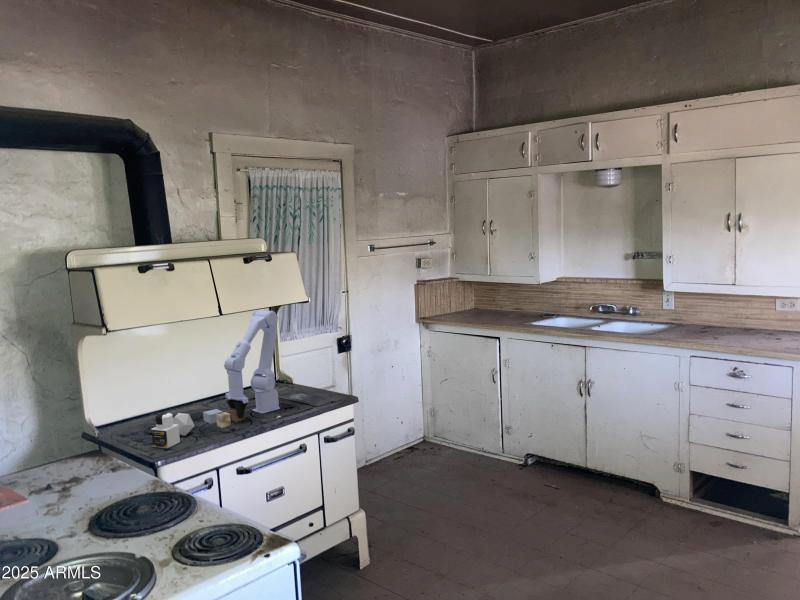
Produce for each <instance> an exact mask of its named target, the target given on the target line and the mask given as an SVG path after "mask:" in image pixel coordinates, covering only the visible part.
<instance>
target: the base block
mask: <svg viewBox="0 0 800 600" xmlns="http://www.w3.org/2000/svg"><path fill="white" fill-rule="evenodd" d="M223 412H224V411H223V410H220V409H218V408H215V409H211V410H206V411H202V415H203V421H204V422H205V423H208V424H217V420H216V414H220V413H223Z"/></svg>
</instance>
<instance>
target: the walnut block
mask: <svg viewBox="0 0 800 600" xmlns="http://www.w3.org/2000/svg"><path fill="white" fill-rule="evenodd" d="M245 413H246V412H244V417H243V418H238V414H237V409H236V408H232V409H230V418H231V421H233V422H235V423H239V422H243V421H246V415H245ZM242 420H243V421H242ZM238 421H239V422H238Z"/></svg>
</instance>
